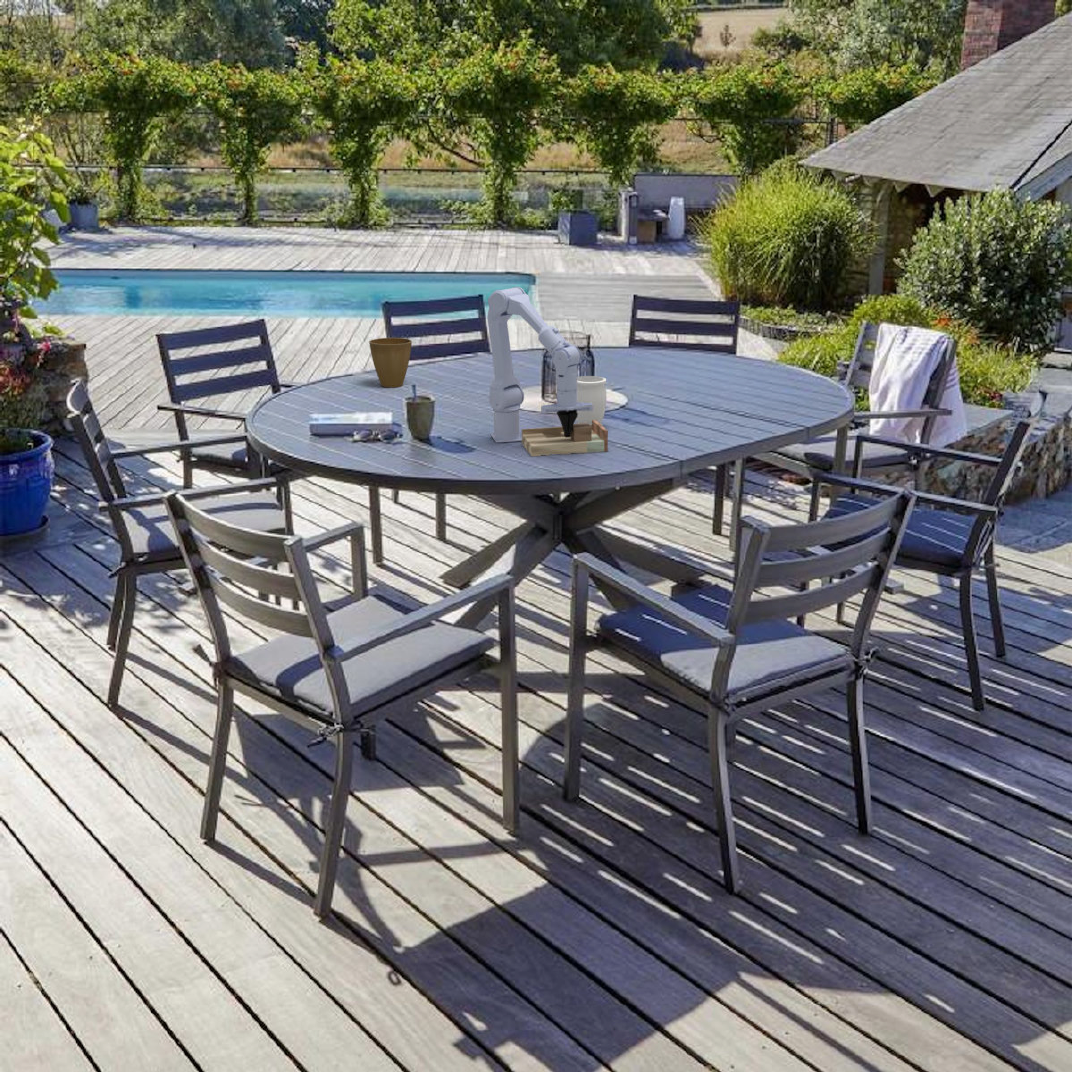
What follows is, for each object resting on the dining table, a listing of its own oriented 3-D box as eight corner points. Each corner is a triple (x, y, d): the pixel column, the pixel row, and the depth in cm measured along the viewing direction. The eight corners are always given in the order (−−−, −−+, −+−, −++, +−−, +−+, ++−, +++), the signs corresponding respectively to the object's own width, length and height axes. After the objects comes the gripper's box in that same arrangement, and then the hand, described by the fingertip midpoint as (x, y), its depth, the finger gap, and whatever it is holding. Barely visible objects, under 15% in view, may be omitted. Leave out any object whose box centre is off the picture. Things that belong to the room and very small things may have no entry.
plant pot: (399, 391, 436) (397, 345, 431) (363, 388, 442) (360, 342, 437) (421, 383, 449) (419, 338, 444) (385, 380, 455) (383, 336, 450)
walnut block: (570, 437, 359) (570, 424, 358) (587, 436, 360) (587, 423, 359) (574, 441, 355) (574, 428, 353) (591, 440, 356) (591, 427, 354)
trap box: (521, 444, 365) (521, 424, 363) (595, 439, 369) (595, 419, 367) (531, 456, 352) (531, 435, 350) (607, 451, 356) (607, 430, 354)
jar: (609, 430, 379) (609, 381, 374) (575, 432, 378) (575, 383, 373) (602, 422, 389) (602, 374, 384) (569, 424, 388) (569, 376, 383)
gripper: (544, 393, 347) (545, 441, 351) (595, 390, 350) (595, 438, 354) (539, 388, 353) (539, 435, 358) (589, 385, 356) (589, 432, 361)
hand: (567, 436), depth 356 cm, fingers closed
